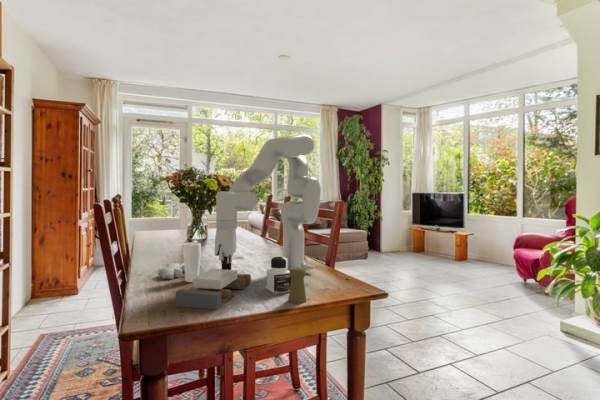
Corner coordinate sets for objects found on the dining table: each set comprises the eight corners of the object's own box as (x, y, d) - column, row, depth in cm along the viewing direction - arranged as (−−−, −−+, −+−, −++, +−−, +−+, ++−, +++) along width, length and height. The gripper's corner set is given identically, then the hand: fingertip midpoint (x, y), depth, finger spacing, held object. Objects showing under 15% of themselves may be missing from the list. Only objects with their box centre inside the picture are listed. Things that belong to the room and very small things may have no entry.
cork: (287, 297, 117) (288, 265, 117) (305, 297, 118) (305, 265, 117) (288, 303, 111) (289, 270, 111) (307, 303, 112) (307, 269, 111)
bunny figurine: (154, 270, 138) (166, 258, 152) (154, 283, 138) (166, 269, 153) (178, 270, 138) (187, 258, 153) (178, 282, 139) (188, 269, 154)
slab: (237, 278, 126) (237, 270, 126) (220, 289, 112) (220, 280, 112) (211, 276, 128) (211, 268, 128) (192, 287, 114) (192, 278, 114)
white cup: (195, 283, 133) (195, 245, 133) (179, 282, 135) (179, 244, 134) (204, 279, 140) (204, 242, 140) (188, 278, 141) (188, 241, 141)
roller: (232, 296, 117) (231, 287, 115) (228, 303, 113) (227, 294, 112) (194, 293, 120) (193, 284, 118) (189, 300, 116) (187, 291, 115)
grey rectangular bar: (221, 306, 108) (221, 292, 108) (217, 309, 105) (217, 295, 105) (181, 303, 111) (181, 289, 111) (175, 306, 108) (175, 291, 108)
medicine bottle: (274, 294, 121) (274, 260, 121) (266, 288, 128) (266, 256, 127) (292, 291, 124) (292, 258, 124) (283, 286, 131) (284, 255, 130)
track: (251, 283, 135) (251, 273, 134) (226, 302, 112) (226, 290, 112) (217, 281, 137) (217, 271, 137) (187, 299, 115) (187, 287, 115)
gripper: (225, 222, 136) (225, 268, 137) (207, 226, 122) (207, 278, 122) (243, 223, 135) (243, 269, 135) (227, 227, 120) (227, 279, 121)
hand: (226, 273), depth 129 cm, fingers closed
